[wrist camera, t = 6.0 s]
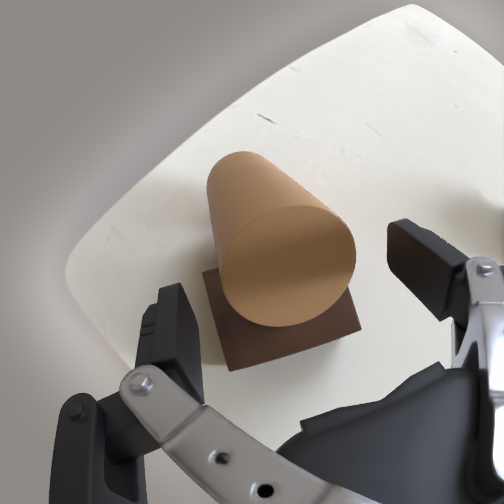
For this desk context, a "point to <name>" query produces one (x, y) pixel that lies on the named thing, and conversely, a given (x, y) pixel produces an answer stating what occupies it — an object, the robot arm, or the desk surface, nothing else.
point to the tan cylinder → (275, 243)
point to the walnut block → (274, 329)
